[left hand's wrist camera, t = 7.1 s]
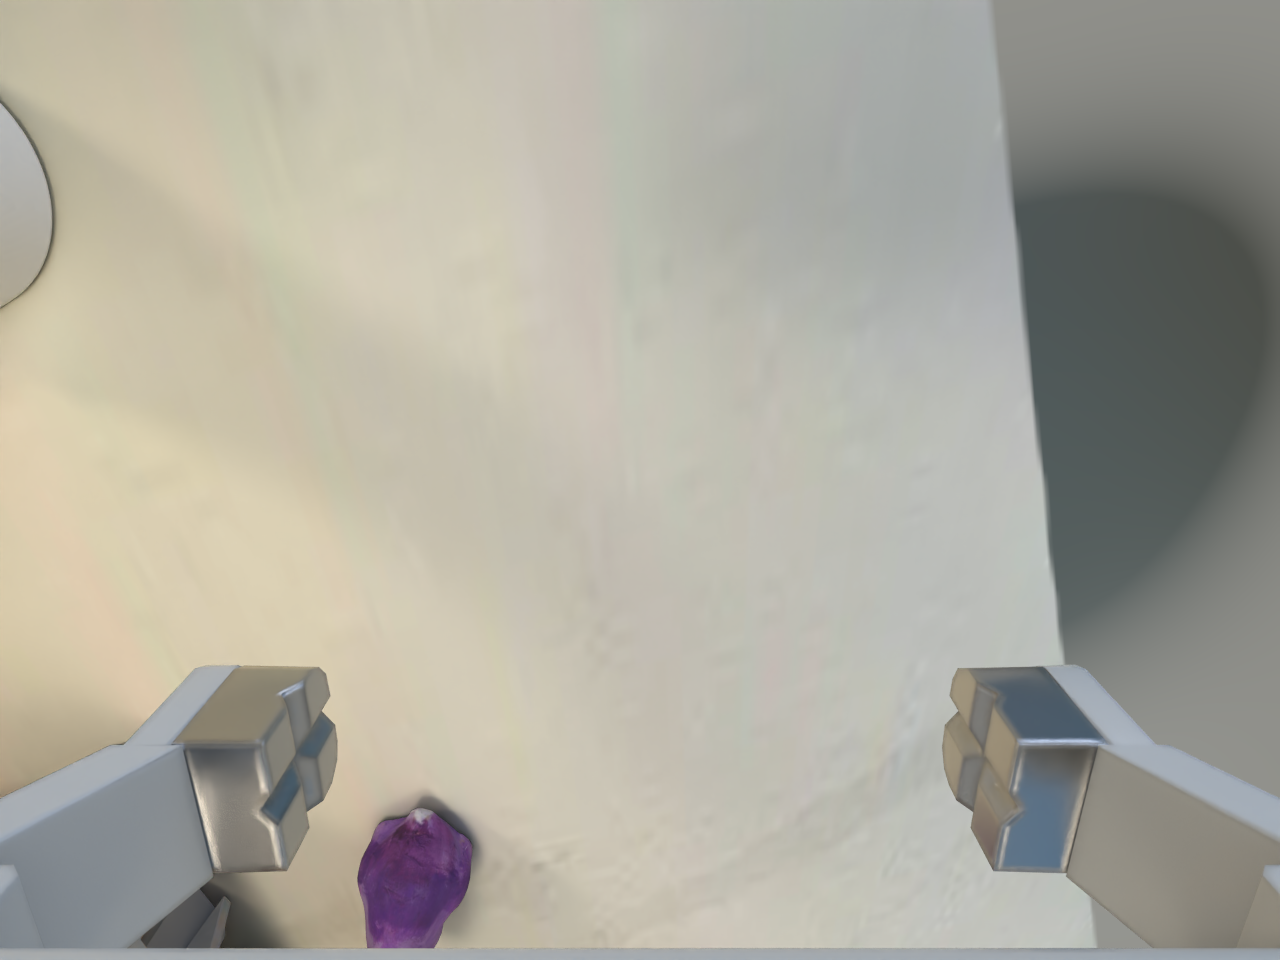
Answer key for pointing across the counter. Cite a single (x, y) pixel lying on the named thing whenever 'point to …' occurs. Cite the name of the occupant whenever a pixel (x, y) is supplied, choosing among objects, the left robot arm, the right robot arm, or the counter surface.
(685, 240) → the counter surface
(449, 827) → the figurine
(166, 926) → the grey record crate
